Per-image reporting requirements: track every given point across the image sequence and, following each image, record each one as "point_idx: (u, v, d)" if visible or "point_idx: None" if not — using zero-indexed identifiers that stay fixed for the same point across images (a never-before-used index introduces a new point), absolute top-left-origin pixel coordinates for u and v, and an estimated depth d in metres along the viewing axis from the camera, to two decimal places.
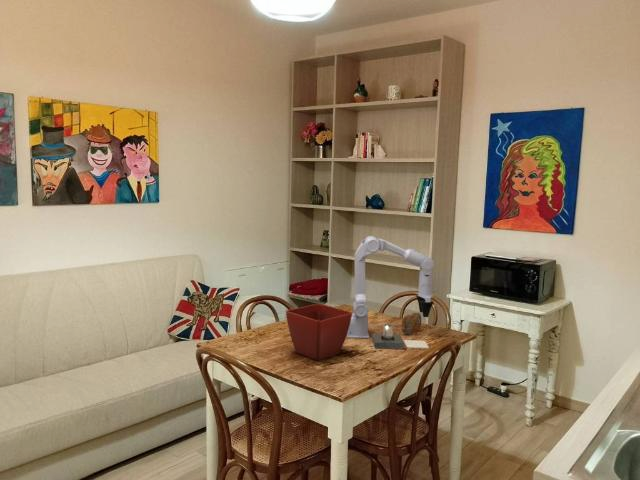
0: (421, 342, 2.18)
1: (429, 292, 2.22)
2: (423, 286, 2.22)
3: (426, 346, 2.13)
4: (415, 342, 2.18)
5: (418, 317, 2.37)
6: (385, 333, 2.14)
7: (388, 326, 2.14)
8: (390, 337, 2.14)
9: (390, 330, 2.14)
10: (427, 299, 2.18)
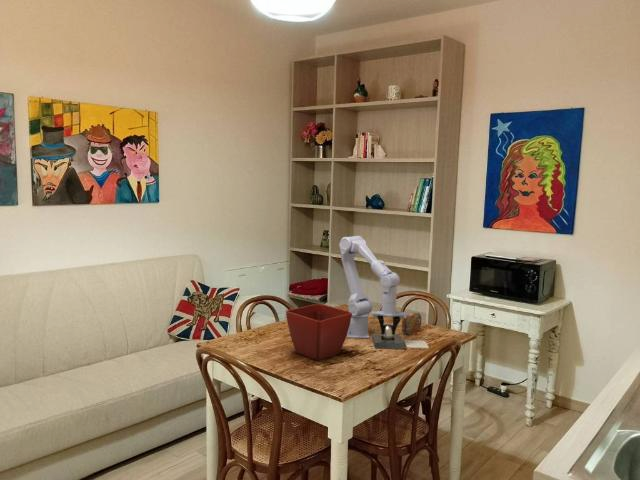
0: (421, 342, 2.18)
1: (383, 310, 2.13)
2: None
3: (426, 346, 2.13)
4: (415, 342, 2.18)
5: (418, 317, 2.37)
6: (385, 333, 2.14)
7: (388, 326, 2.14)
8: (390, 337, 2.14)
9: (390, 330, 2.14)
10: (371, 313, 2.15)
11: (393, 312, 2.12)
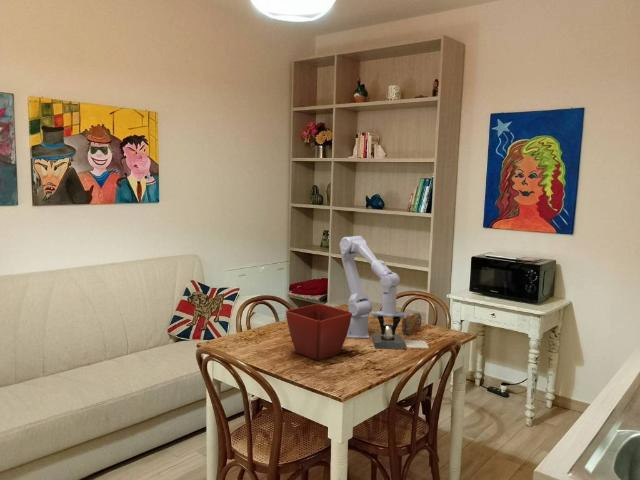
0: (421, 342, 2.18)
1: (383, 310, 2.13)
2: None
3: (426, 346, 2.13)
4: (415, 342, 2.18)
5: (418, 317, 2.37)
6: (385, 333, 2.14)
7: (388, 326, 2.14)
8: (390, 337, 2.14)
9: (390, 330, 2.13)
10: (371, 313, 2.15)
11: (393, 312, 2.12)
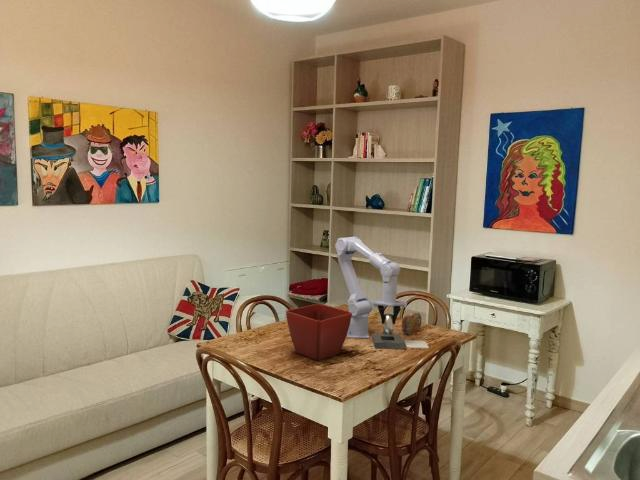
0: (421, 342, 2.18)
1: (383, 299, 2.12)
2: None
3: (426, 346, 2.13)
4: (415, 342, 2.18)
5: (418, 317, 2.37)
6: (385, 322, 2.13)
7: (388, 315, 2.13)
8: (390, 326, 2.13)
9: (390, 319, 2.13)
10: (371, 303, 2.14)
11: (393, 301, 2.12)
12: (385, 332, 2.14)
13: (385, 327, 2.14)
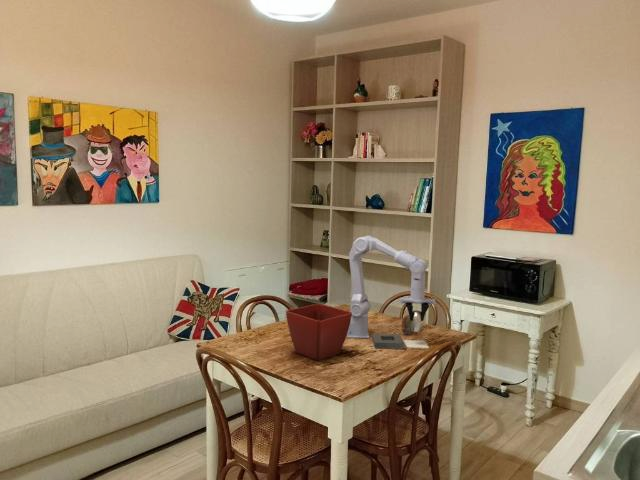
0: (421, 342, 2.18)
1: (412, 296, 2.12)
2: None
3: (426, 346, 2.13)
4: (415, 342, 2.18)
5: None
6: (414, 319, 2.13)
7: (417, 312, 2.13)
8: (419, 323, 2.13)
9: (419, 316, 2.13)
10: None
11: (422, 298, 2.11)
12: (413, 329, 2.13)
13: (413, 324, 2.13)
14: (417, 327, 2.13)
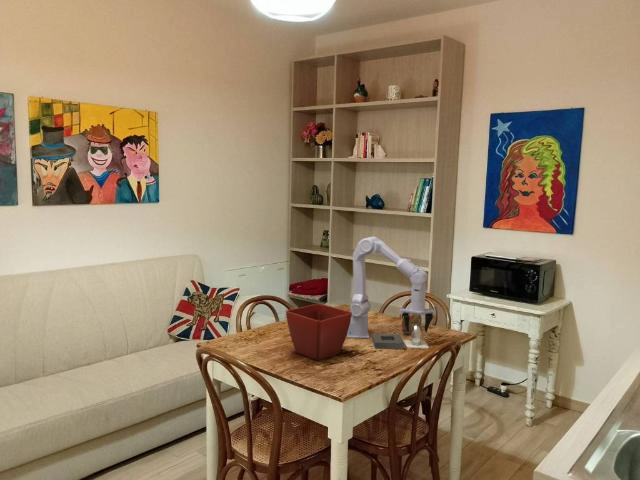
0: (421, 342, 2.18)
1: (412, 307, 2.13)
2: None
3: (426, 346, 2.13)
4: None
5: (418, 317, 2.37)
6: (414, 333, 2.14)
7: (417, 326, 2.13)
8: (419, 337, 2.14)
9: (419, 330, 2.13)
10: (400, 310, 2.15)
11: (422, 309, 2.12)
12: (413, 343, 2.14)
13: (413, 338, 2.14)
14: (417, 341, 2.14)
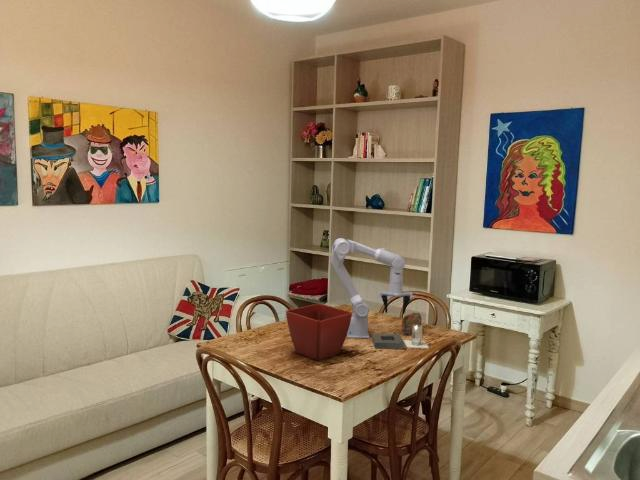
0: (421, 342, 2.18)
1: (390, 289, 2.25)
2: None
3: (426, 346, 2.13)
4: None
5: (418, 317, 2.37)
6: (414, 333, 2.14)
7: (418, 326, 2.13)
8: (419, 337, 2.14)
9: (420, 330, 2.13)
10: (379, 293, 2.27)
11: (400, 291, 2.24)
12: (414, 342, 2.14)
13: (414, 338, 2.14)
14: (417, 341, 2.14)
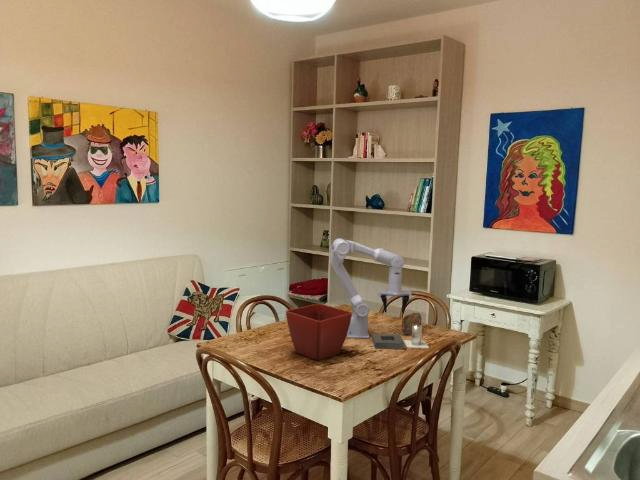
0: (421, 342, 2.18)
1: (389, 289, 2.25)
2: None
3: (426, 346, 2.13)
4: None
5: (418, 317, 2.37)
6: (414, 333, 2.13)
7: (417, 326, 2.13)
8: (419, 337, 2.14)
9: (419, 330, 2.13)
10: (378, 292, 2.27)
11: (399, 291, 2.24)
12: (414, 343, 2.14)
13: (414, 338, 2.14)
14: (417, 341, 2.13)
